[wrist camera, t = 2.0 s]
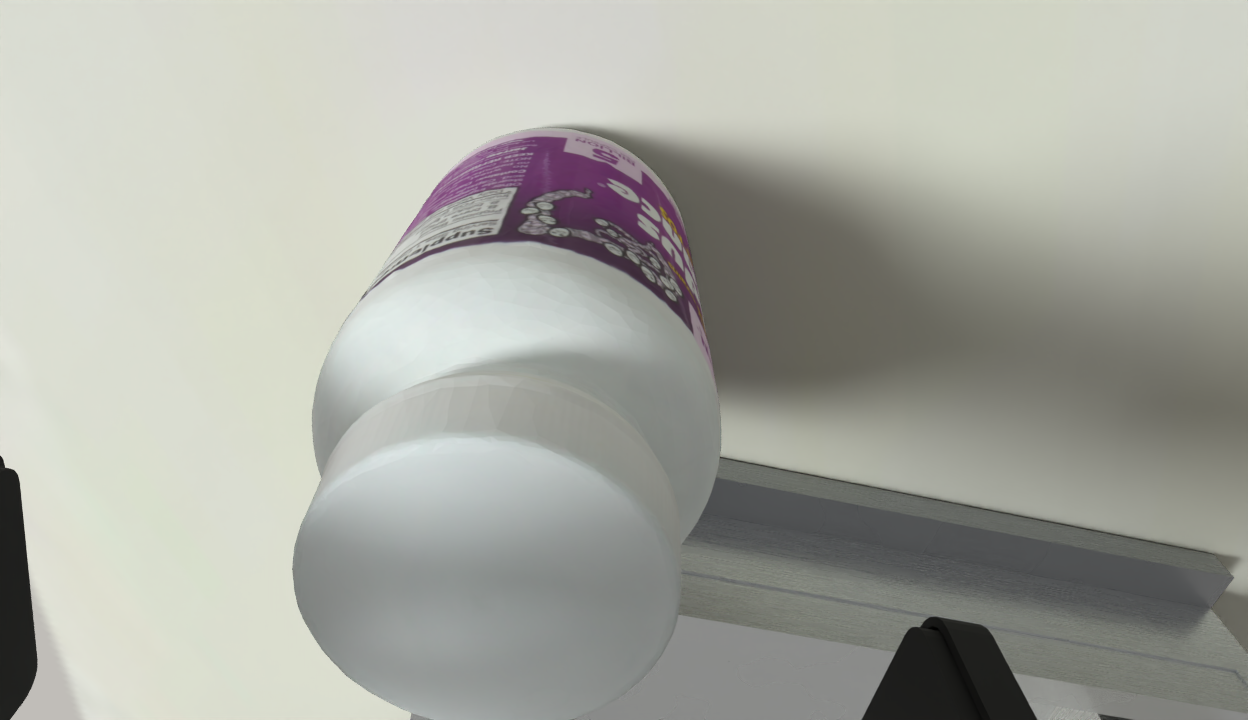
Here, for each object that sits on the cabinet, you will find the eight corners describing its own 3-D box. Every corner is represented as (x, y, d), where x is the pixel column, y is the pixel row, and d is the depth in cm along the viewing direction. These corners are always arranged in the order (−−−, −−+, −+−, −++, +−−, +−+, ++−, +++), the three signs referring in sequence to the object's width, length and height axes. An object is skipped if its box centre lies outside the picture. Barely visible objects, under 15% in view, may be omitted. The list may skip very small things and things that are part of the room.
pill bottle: (743, 274, 17) (857, 641, 9) (544, 413, 19) (480, 836, 10) (571, 55, 15) (506, 258, 7) (364, 231, 17) (104, 573, 8)
